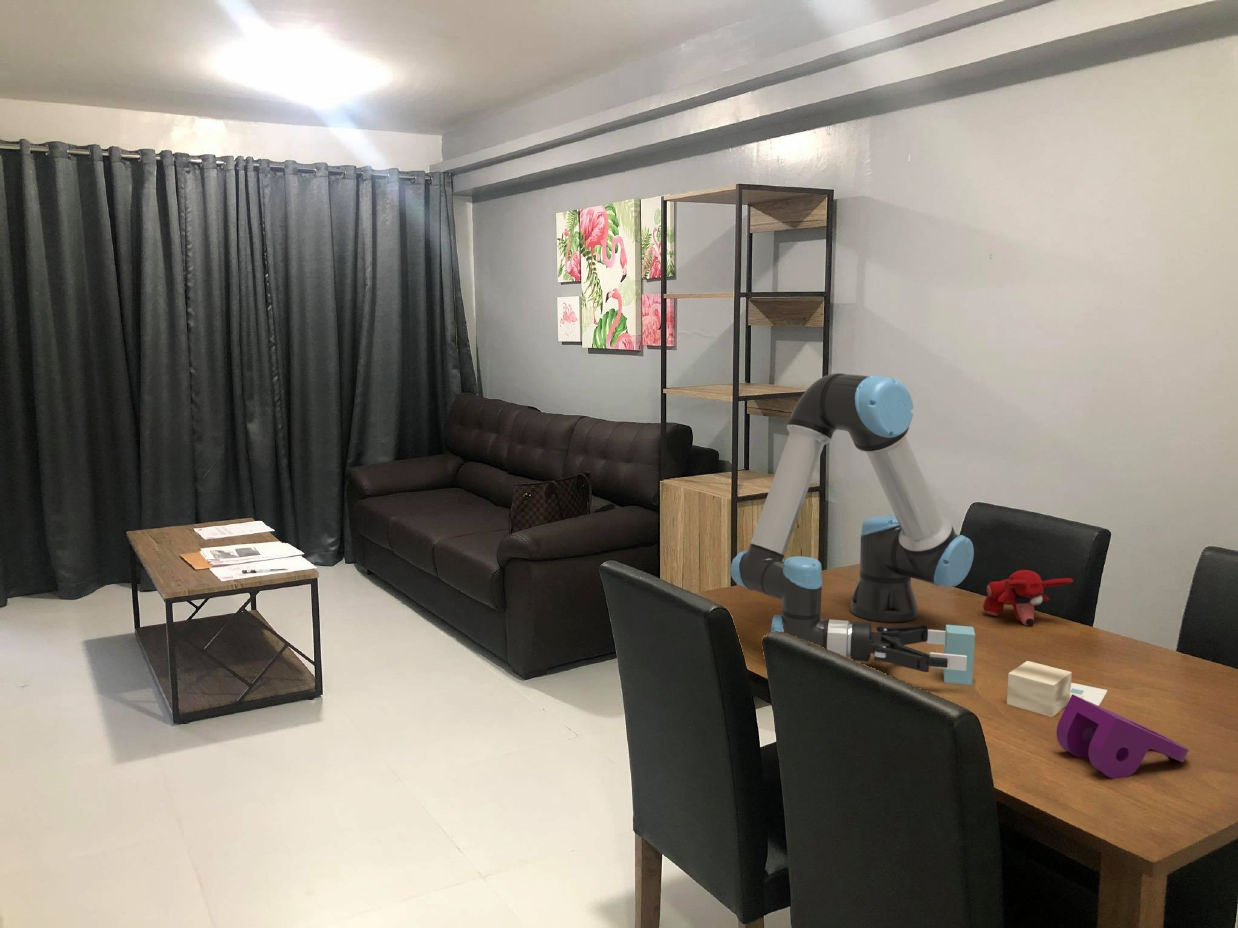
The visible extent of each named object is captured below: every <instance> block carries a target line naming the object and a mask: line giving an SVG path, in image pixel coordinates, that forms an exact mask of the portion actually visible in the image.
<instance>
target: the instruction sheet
mask: <svg viewBox="0 0 1238 928" xmlns="http://www.w3.org/2000/svg"><path fill="white" fill-rule="evenodd" d="M1107 692H1108V689H1103V688H1100V687H1099V688H1098V687H1094V686H1089V685H1085V684H1080V683H1075V682H1071V692H1070V698H1071V696H1072V694H1073V695H1075V696H1077V697H1080V698H1082V699H1084V700H1086V701H1089V702H1091V703H1093V704H1095V705H1097V706H1100V704H1101V703H1102V701H1103V699H1104V698H1105V696H1106V694H1107Z"/></svg>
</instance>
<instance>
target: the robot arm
mask: <svg viewBox="0 0 1238 928" xmlns="http://www.w3.org/2000/svg"><path fill="white" fill-rule="evenodd" d="M913 409H914V403H913V398H912V395H911V393H910V392H909V390H908V389H907V387H906V386H905V385H904V383H902V382H901V381H899V380H898V379H895V378H891V377H887V376H883V375H863V374H862V375H860V374H846V373H842V372H841V373H839V372H838V373H836V372H835V373H830V374H827V375H824V376H822V377H821V378H819V379H818V380H816V381H814V382H813V383H812V384H811V385H810V386H809V387H808V388H807V389H806V390H805V392H804V393H803V394H802V395H801V397H800V398H799V400H798V401H797V403H796V404H795V406H794V408H793V410H792V413H791V415H790V418H789V420H788V422H787V426H786V428H787V430H788V433H789V434H788V437H787V440H786V443H785V445H784V448H783V451H782V453H781V457H780V460H779V462H778V466H777V468H776V471H775V473H774V477H773V479H772V482H771V484H770V488H769V490H768V493H767V496H766V499H765V501H764V504H763V508H762V510H761V513H760V515H759V517H758V518H759V519H758V521H757V525H756V527H755V530H754V533H753V534H752V539H751V541H750V544H749V547H748V549H747V550H744V551H740V552H739V553H737V554H736V556H735V557H734V558H733V559H732V561H731V564H730V575H731V578H732V580H733V581H734V582H735V584H737V585H739V586H741V587H743V588H746V589H747V590H749V591H754V592H758V593H759V594H763V595H766V596H769V597H772V598H774V599H777V600H779V601H782V612H781V614H775V615H774V616H773V617H772V619H771V620H772V621H771V628H770V629H771V630H770V633H771V632H775V631H778V632H784V633H788V634H790V635H793V636H797V637H798V638H801V639H804V640H806V641H809V642H813V643H814V644H817V645H820V646H821V647H824V648H825V649H828V650H831V651H833V652H836V653H839V654H840V655H843V656H846V657H847V659H848V657H849V658H850V659H851V660H852V659H853V660H852V661H858V662H869V661H870V660H871V654H874V661H877V662H884V663H887V664H892V665H897V666H900V667H904V668H907V669H911V670H914V671H915V670H916V671H918V672H923V673H929V671H930V670H929V669H932V668H934V669H942V670H943V669H951V670H961V671H966V664H967V656H965V655H955V654H944V652H943V653H941V652H929V654H928V653H926V652H923V651H921V650H917V649H915V648H912V647H909V646H907V645H913V644H919V643H924V642H927V644H928V645H936V646H937V645H938V646H945V633H946V630H940V629H929V628H928V627H929V626H928V624H918V625H917V624H915V625H901V626H876V631H873V630H872V627H873V625H872V624H871V623H870V622H864V621H854V622H852V623H850V621H849V620H841V619H829V618H821V610H822V609H821V607H822V590H823V577H822V576H823V574H822V571H823V570H822V563H821V562H820V560H818V559H817V558H815V557H809V556H804V555H803V556H798V555H797V556H790V557H787V558H786V559H785V560H784V558H785V554H786V551H787V549H788V546H789V543H790V541H791V538H792V536H793V532H794V529H795V526H796V524H797V521H798V519H799V515H800V513H801V510H802V509H803V508H802V507H803V505H804V501H805V498H806V496H807V493H808V491H809V488H810V485H811V482H812V480H813V476H814V474H815V470H816V468H817V465H818V463H819V460H820V457H821V454H822V452H823V449H824V446H825V445H826V444H829V443H831V440H832V438H833V435H834V433H835V431H845V432H848V434H849V436H850V439H851V441H852V442H853V445H854V447H855V448H856V449H857V450H858V451H860V452H864V453H866V455H867V457H868V459H869V461H870V464H871V465H872V468H873V470H874V472H875V475H876V476H877V479H878V481H879V483H880V485H881V488H882V490H883V492H884V494H885V496H886V498H887V501H888V503H889V505H890V507H891V509H892V512H893V515H891V514H888V515H885V514H884V515H877V516H870V517H868V518H866V519H864V520H863V522H862V526H861V534H860V558H859V559H860V560H859V579H858V582H857V584H856V587H855V589H854V592H853V595H852V598H851V601H850V612H851V613H852V614H853V615H855V616H857V617H859V618H862V619H864V620H869V621H874V622H875V621H876V622H882V623H903V622H904V623H905V622H908V621H911V620H914V619H916V618H917V617H918V603H917V600H916V599H917V598H916V596H915V593H914V589H913V586H912V579H915V580H918V581H921V582H925V583H929V584H930V585H931V584H932V585H935V586H936V587H940V586H941V587H946V588H953V587H956V586H958V585H959V584H961V583H962V582H963V581H964V580H965V579H966V577H967V576H968V575H969V572H970V570H971V568H972V565H973V561H974V555H975V552H974V551H975V549H974V545H973V542H972V540H971V539H970V538H968V537H966V536H965V535H962V534H960V535H958V534H957V533H956V531H955V529H954V527H953V524H952V522H951V521H950V519H949V518H948V517H946V516H945V515H942V514H940V512H939V510H938V508H937V505H936V503H935V500H934V498H933V496H932V493H931V491H930V489H929V486H928V484H927V482H926V480H925V478H924V474H923V473H922V470H921V468H920V466H919V463H918V461H917V458H916V456H915V453H914V452H913V449H912V448H911V445H910V441H909V440H908V438H907V435H908V434H909V431H910V425H911V423H912V421H913V416H914V414H913V413H912V410H913Z"/></svg>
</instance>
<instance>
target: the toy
mask: <svg viewBox="0 0 1238 928" xmlns="http://www.w3.org/2000/svg"><path fill="white" fill-rule="evenodd" d="M1071 583H1074V580H1073V578H1071V577H1070V578H1069V577H1063V578H1053V579H1048V580H1042V578H1041V576H1040V575H1039V574H1038V573H1037V572H1035V571H1033V570H1028V569H1020V570H1017V571H1015V572H1013V573H1011V574H1010V576H1009V578H1006V579H1002V580H1000V581H996V580H995V581H990V582H989V583H988V585H986V592H987V596H986V597H985V599H984V602H983V605H982V607H983V608H982V609H983V610H984V612H985V614H986V615H989V616H993V617H998V616H1000V615H1002V613H1003V611H1004V607H1005V605H1007V606H1012V608H1013V613H1014V616H1015V618H1016V620H1017V621H1018V622H1020V623H1022V625H1024V626H1025V627H1026V626H1028V627H1029V626H1033V625H1035V606H1039V605H1041V604H1042V602H1045V601H1049V600H1050V598H1049V596H1046V594H1044V590H1045V588H1054V587H1059V586H1065V585H1069V584H1071Z"/></svg>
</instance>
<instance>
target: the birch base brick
mask: <svg viewBox="0 0 1238 928" xmlns="http://www.w3.org/2000/svg"><path fill="white" fill-rule="evenodd" d="M1072 675H1073V673H1072V671H1069V670H1065V669H1061V668H1057V667H1053V666H1050V665H1045V664H1042V663H1037V662H1034V661H1029V660H1026V661H1025V662H1023V663H1022V664H1021V665H1019V666H1017V667H1016V668H1014V669H1013V670H1011V671H1010V672H1008V677H1007V690H1006V692H1007V695H1006V705H1008V706H1013V707H1016V708H1018V709H1022V710H1026V711H1029V712H1032V713H1036V714H1040V715H1042V716H1046V717H1049V718H1053V717H1054V716H1056V715H1057V714H1058V713H1059V712H1060V711H1062V710H1063V709H1065V708H1066V706H1067V704H1068V702H1069V700H1070V692H1071V683H1072Z"/></svg>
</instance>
